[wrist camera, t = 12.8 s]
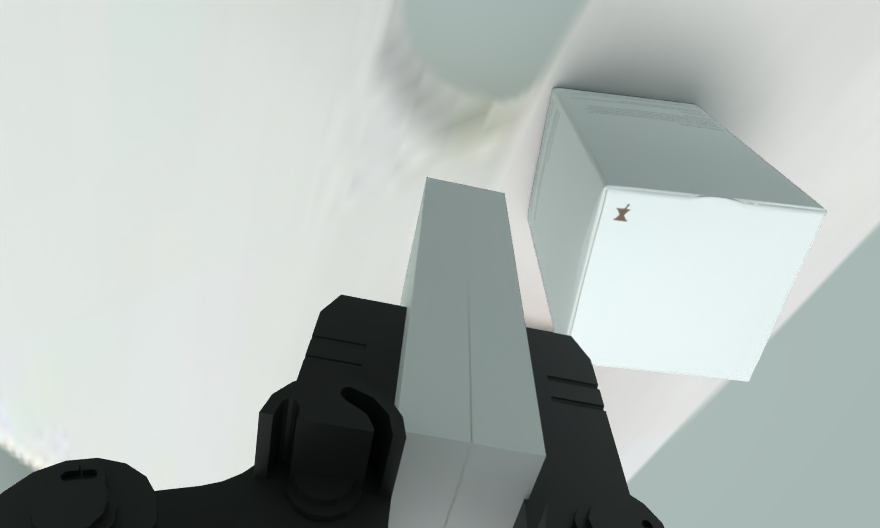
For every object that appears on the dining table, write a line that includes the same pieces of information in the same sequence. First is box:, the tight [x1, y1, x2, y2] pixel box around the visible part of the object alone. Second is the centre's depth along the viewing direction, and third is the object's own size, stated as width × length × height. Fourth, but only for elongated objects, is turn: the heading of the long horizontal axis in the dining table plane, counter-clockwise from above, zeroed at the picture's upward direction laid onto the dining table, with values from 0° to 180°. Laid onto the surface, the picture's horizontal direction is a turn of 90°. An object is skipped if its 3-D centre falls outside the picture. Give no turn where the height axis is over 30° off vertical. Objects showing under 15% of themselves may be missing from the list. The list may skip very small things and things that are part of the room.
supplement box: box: [528, 88, 827, 381], centre depth 33 cm, size 9×9×15 cm
